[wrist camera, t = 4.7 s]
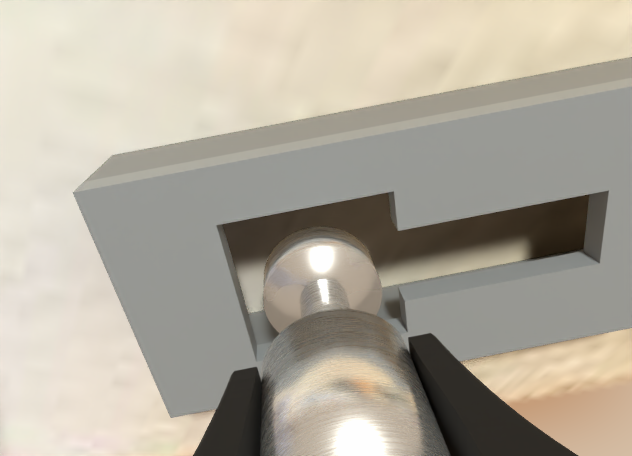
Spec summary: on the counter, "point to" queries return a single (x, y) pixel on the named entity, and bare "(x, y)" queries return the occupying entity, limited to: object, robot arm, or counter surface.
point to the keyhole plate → (406, 212)
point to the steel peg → (337, 358)
